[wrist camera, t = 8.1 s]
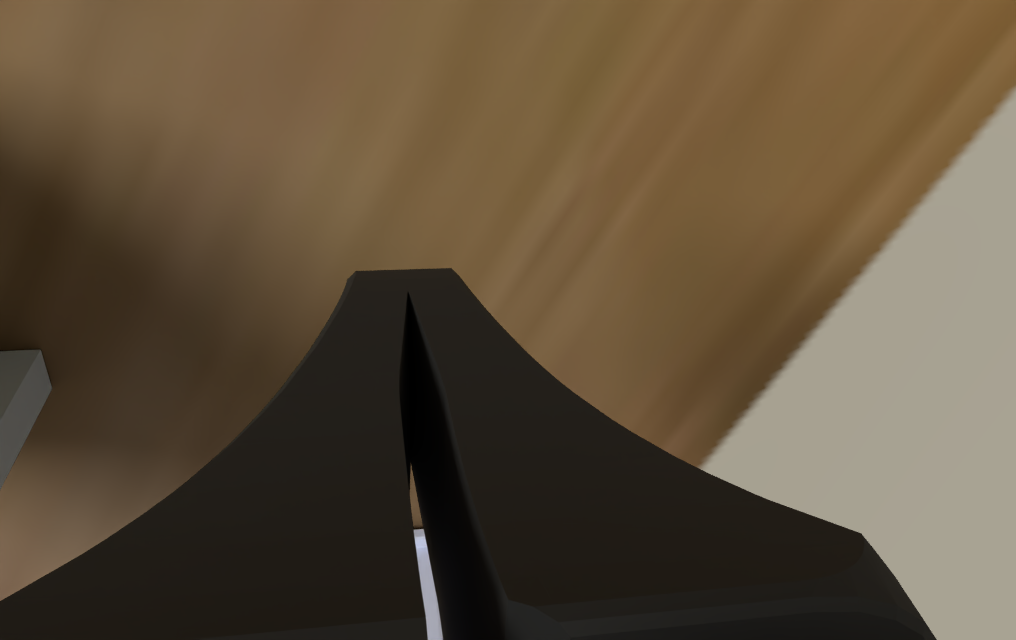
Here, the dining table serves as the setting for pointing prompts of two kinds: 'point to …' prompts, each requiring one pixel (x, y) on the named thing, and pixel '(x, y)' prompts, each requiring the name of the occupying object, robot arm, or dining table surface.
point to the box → (19, 401)
